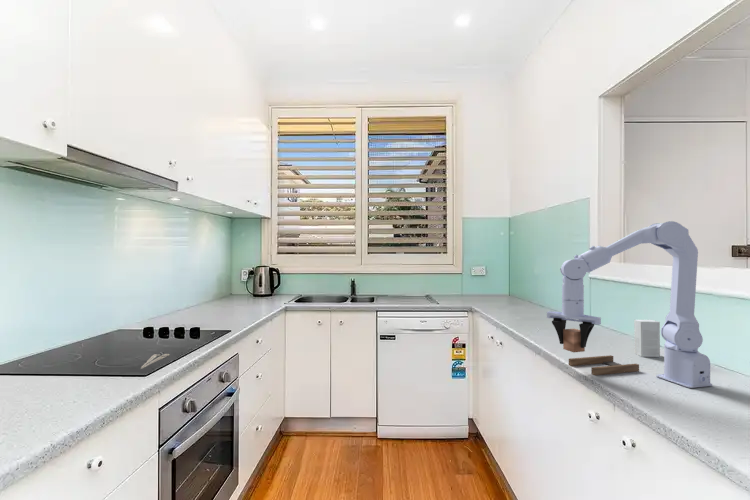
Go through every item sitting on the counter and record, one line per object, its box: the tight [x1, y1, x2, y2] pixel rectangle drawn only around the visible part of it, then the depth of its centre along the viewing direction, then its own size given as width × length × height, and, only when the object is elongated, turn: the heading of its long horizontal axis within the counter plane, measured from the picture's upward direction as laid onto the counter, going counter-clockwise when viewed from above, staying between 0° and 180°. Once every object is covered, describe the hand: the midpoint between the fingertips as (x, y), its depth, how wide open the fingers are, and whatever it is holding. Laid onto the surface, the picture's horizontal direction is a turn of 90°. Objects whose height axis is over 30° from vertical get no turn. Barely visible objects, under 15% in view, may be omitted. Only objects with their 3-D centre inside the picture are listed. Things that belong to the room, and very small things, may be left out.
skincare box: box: [633, 319, 661, 358], centre depth 129 cm, size 6×4×12 cm
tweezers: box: [140, 353, 170, 370], centre depth 119 cm, size 17×5×2 cm, turn 5°
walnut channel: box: [568, 354, 640, 376], centre depth 115 cm, size 10×16×2 cm, turn 104°
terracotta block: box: [562, 328, 586, 353], centre depth 113 cm, size 4×4×6 cm
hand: (572, 345), depth 113 cm, fingers closed on terracotta block, 5 cm apart
